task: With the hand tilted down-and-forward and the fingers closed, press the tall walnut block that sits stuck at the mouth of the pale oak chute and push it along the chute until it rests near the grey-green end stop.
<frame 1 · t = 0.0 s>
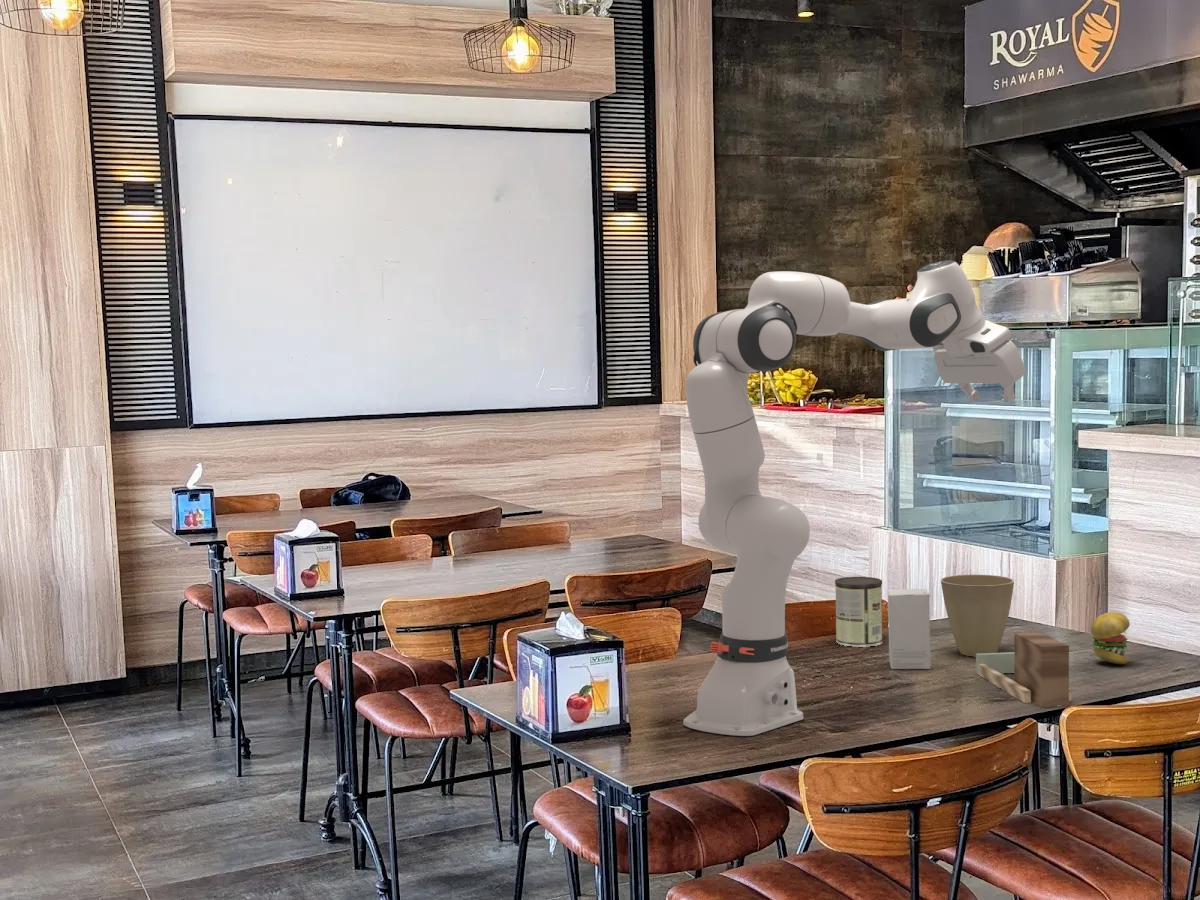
hand: (992, 400, 253), 54 cm above the table, tool tilted 30°, fingers open, 8 cm apart
coffee can: (858, 643, 289), on the table
skincare box: (909, 667, 265), on the table
chute: (1040, 697, 238), on the table
block: (1040, 698, 238), on the table
plant pot: (977, 654, 276), on the table
end stop: (998, 673, 258), on the table
hamburger: (1109, 665, 264), on the table
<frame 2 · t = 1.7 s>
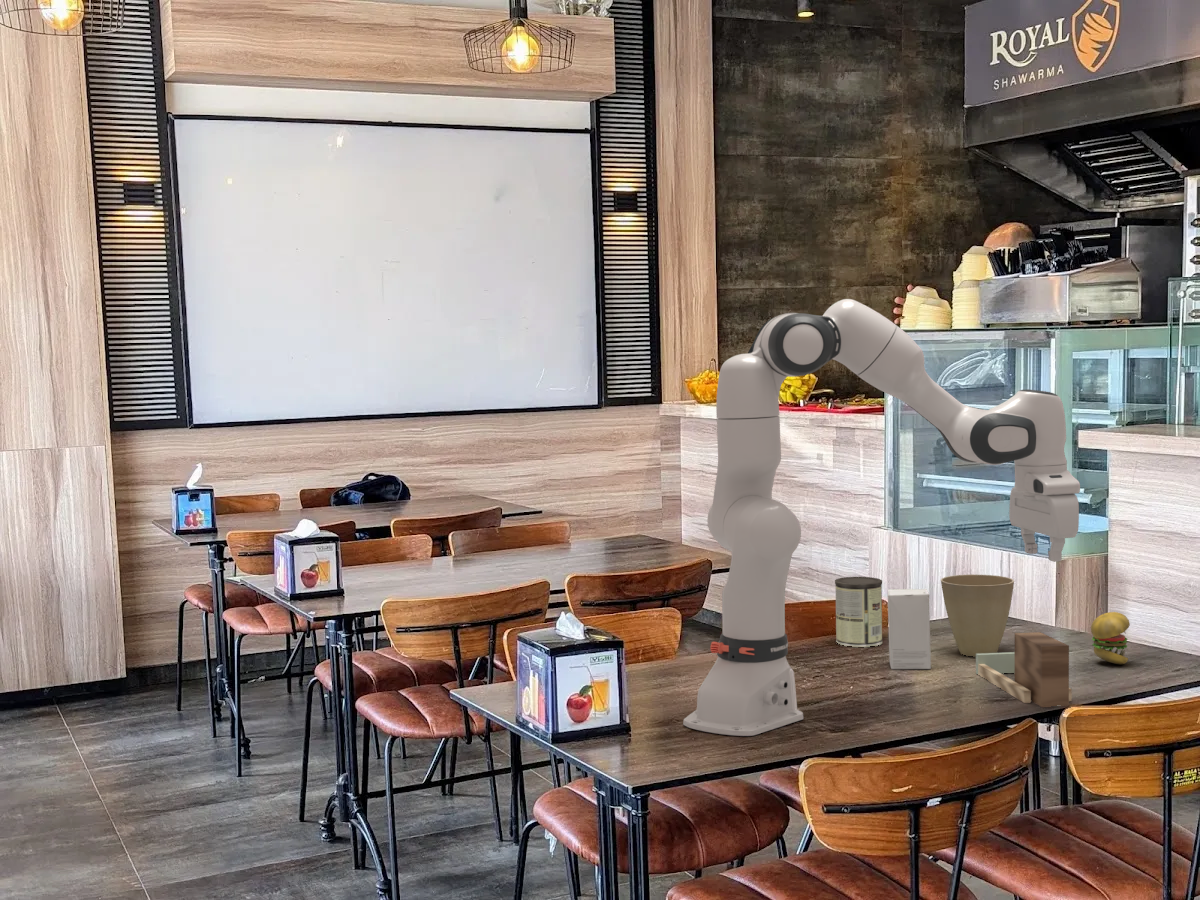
hand: (1042, 557, 232), 27 cm above the table, tool pointing down, fingers open, 8 cm apart
nothing on the table moved.
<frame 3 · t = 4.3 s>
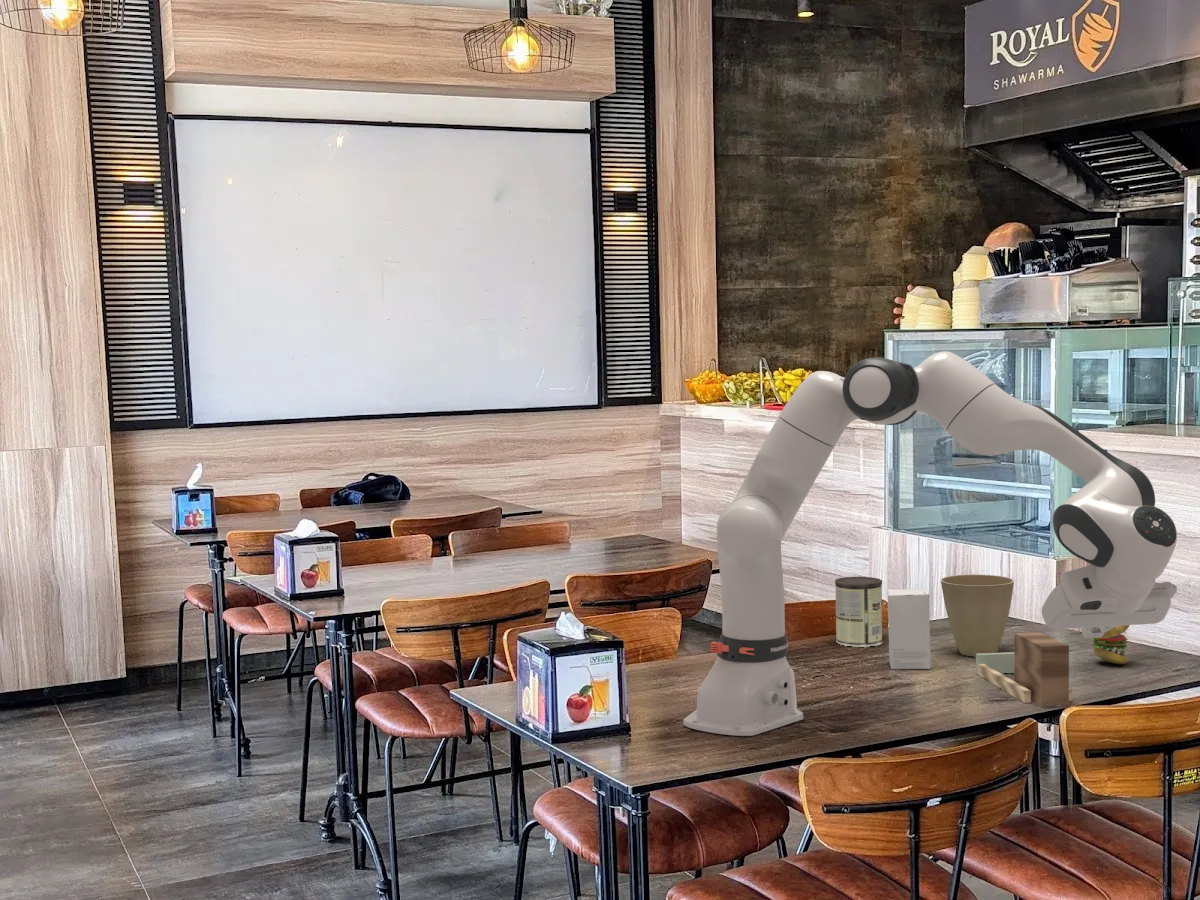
hand: (1091, 634, 219), 16 cm above the table, tool tilted 45°, fingers closed
nothing on the table moved.
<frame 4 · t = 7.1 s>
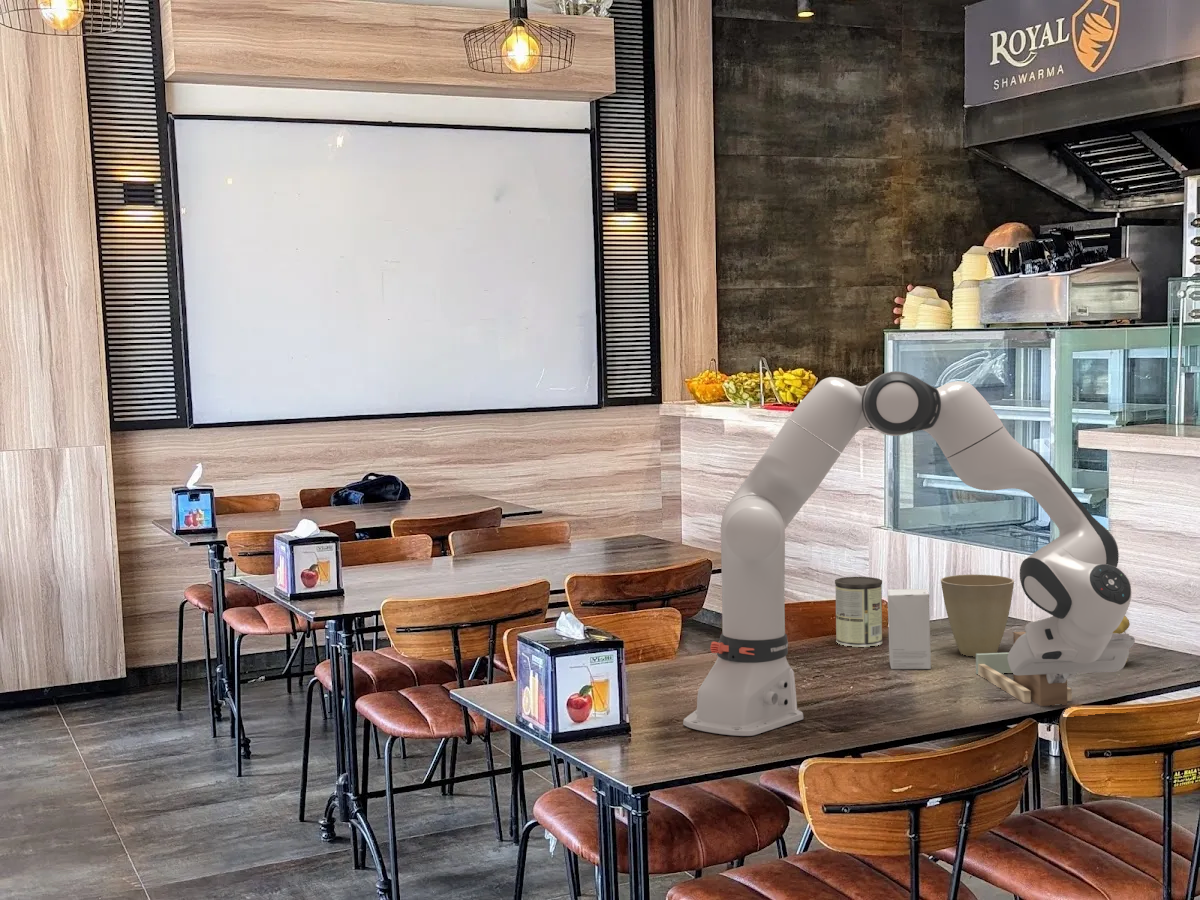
hand: (1055, 679, 232), 5 cm above the table, tool tilted 45°, fingers closed, pressing on block
block: (1039, 697, 239), on the table, touching gripper
everything else where it was.
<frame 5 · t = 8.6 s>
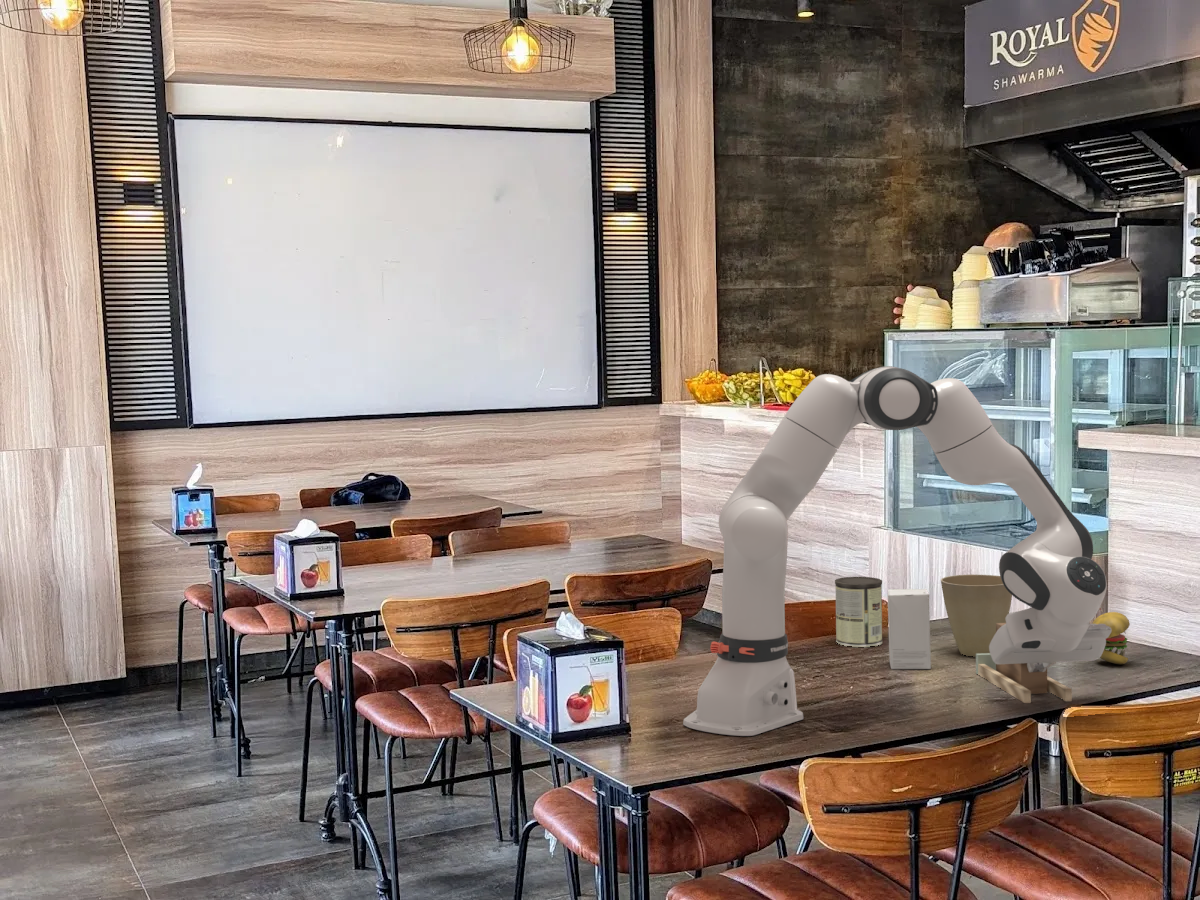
hand: (1035, 668, 241), 5 cm above the table, tool tilted 45°, fingers closed, pressing on block
block: (1021, 685, 248), on the table, touching gripper
everything else where it was.
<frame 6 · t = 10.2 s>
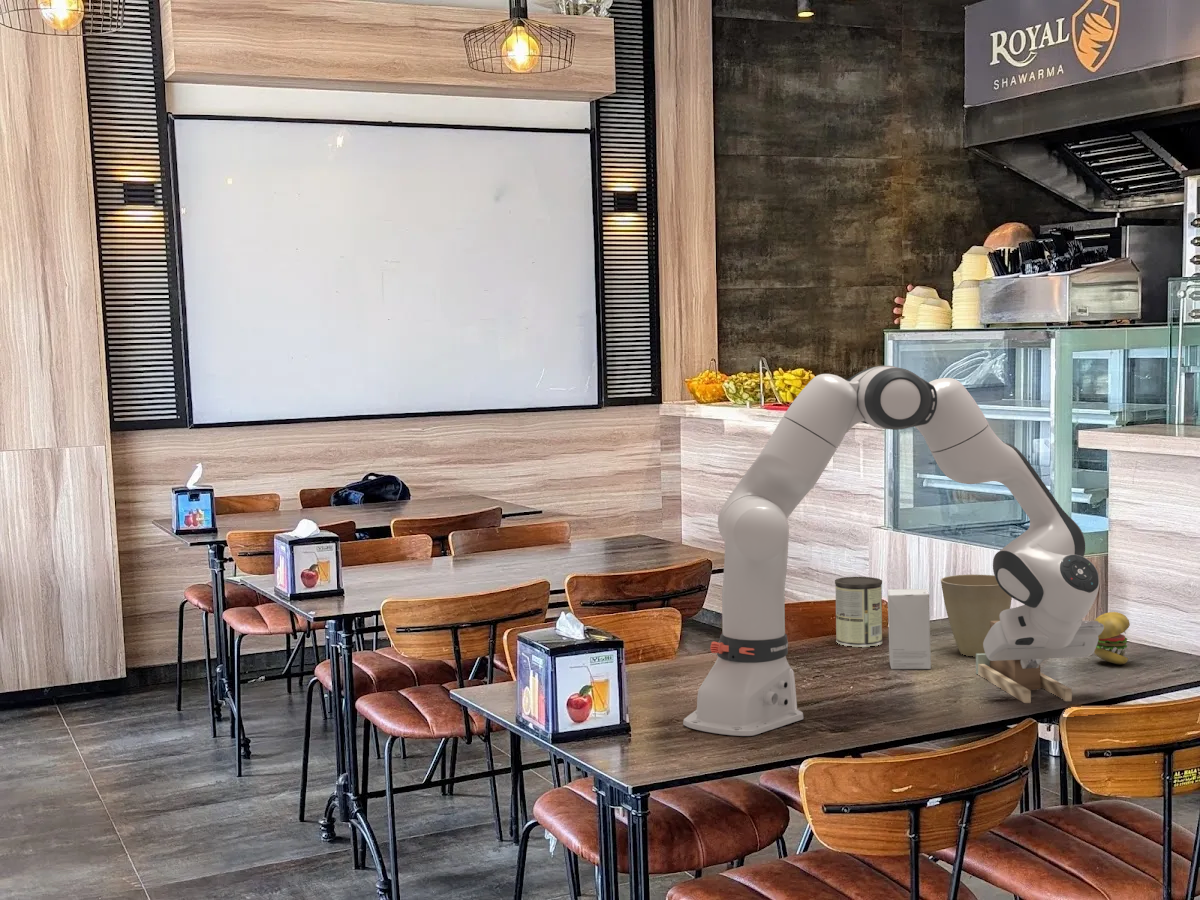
hand: (1028, 665, 243), 5 cm above the table, tool tilted 45°, fingers closed
block: (1014, 682, 250), on the table
everything else where it was.
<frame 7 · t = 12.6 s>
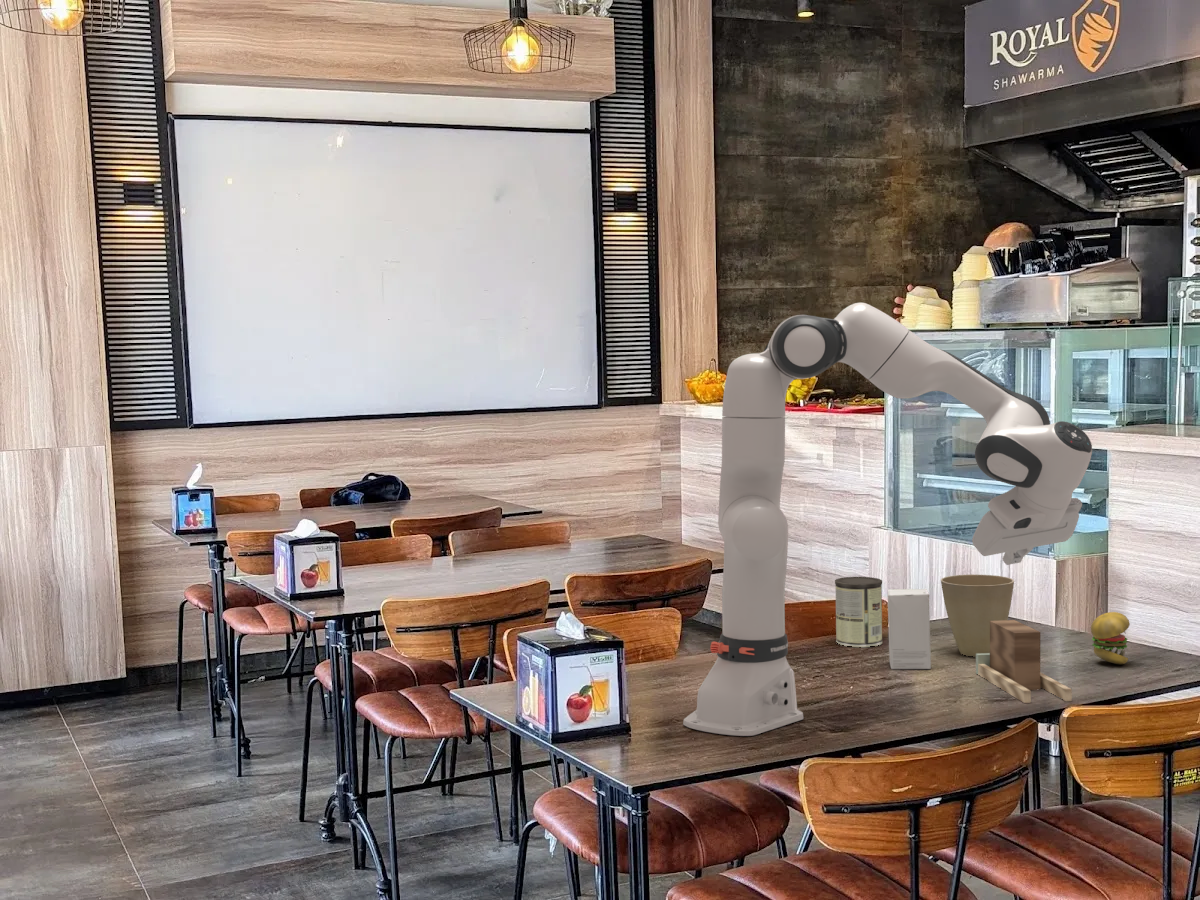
hand: (1010, 561, 235), 26 cm above the table, tool tilted 35°, fingers closed
nothing on the table moved.
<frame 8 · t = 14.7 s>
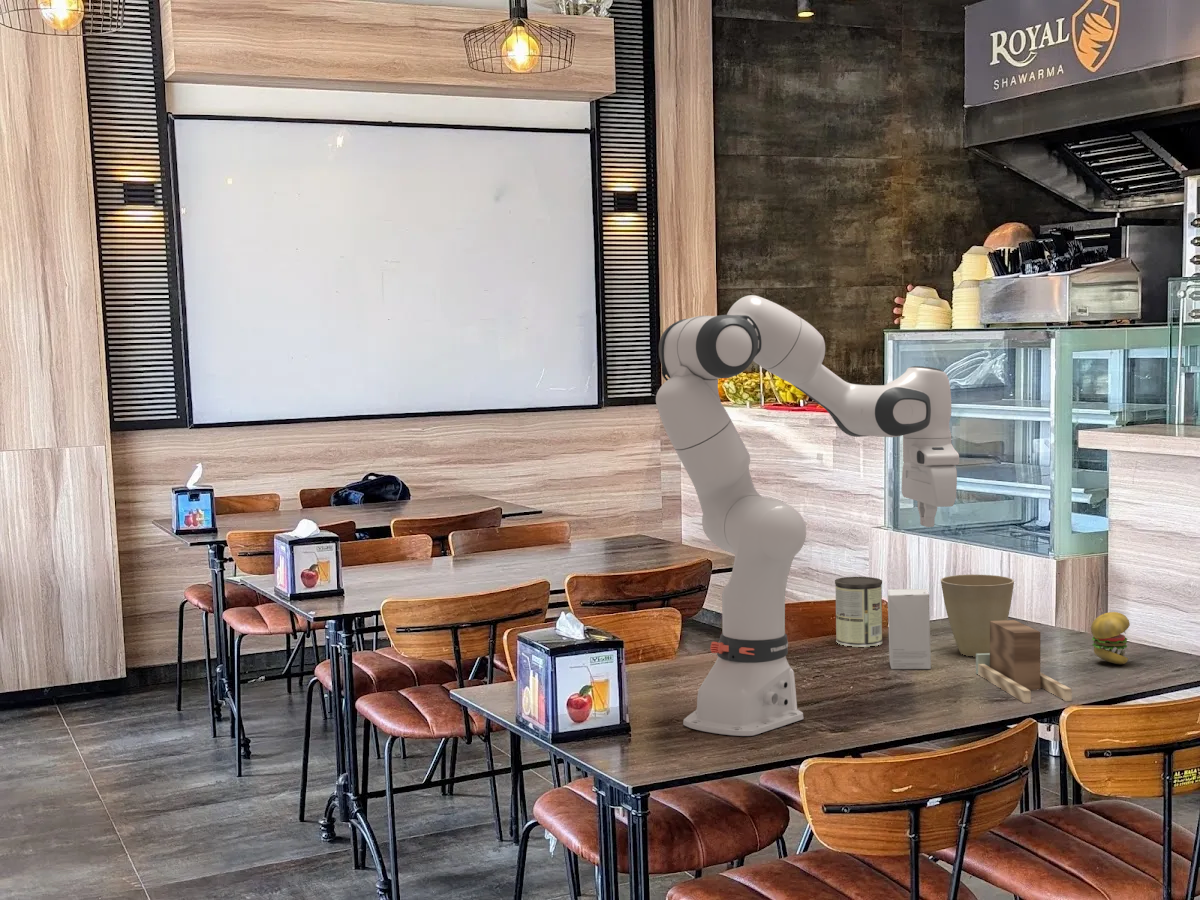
hand: (927, 526, 245), 31 cm above the table, tool pointing down, fingers closed
nothing on the table moved.
at the end: block 7.5 cm from the end stop (horizontally); block moved 12.1 cm from its start; block tilted 0° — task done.
